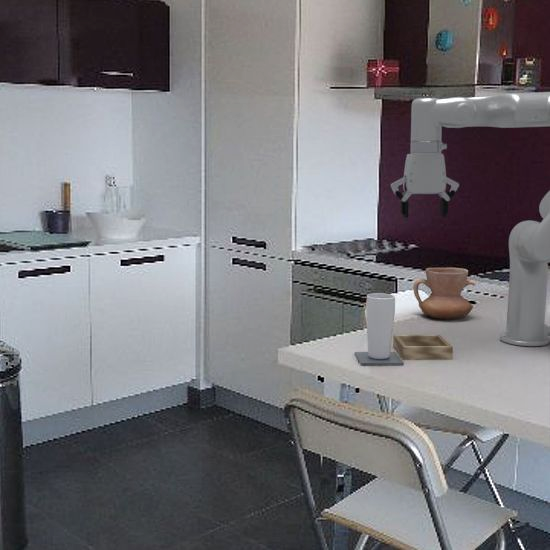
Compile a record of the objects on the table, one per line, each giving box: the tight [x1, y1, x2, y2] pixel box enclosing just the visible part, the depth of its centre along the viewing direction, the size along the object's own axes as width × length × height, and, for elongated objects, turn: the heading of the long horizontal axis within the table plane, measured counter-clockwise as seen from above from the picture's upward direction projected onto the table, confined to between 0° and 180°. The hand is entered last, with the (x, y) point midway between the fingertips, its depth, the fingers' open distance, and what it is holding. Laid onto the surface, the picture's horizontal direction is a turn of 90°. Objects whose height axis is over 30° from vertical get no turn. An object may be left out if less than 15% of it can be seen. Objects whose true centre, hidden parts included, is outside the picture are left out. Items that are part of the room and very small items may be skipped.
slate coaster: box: [354, 351, 405, 367], centre depth 203 cm, size 10×10×1 cm
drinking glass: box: [365, 292, 396, 359], centre depth 201 cm, size 7×7×15 cm
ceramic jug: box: [413, 267, 477, 320], centre depth 249 cm, size 18×14×14 cm
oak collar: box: [392, 334, 454, 360], centre depth 209 cm, size 12×12×3 cm
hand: (424, 216), depth 214 cm, fingers open, 9 cm apart
